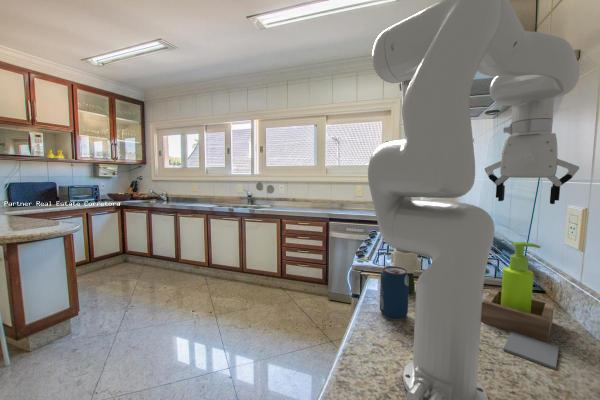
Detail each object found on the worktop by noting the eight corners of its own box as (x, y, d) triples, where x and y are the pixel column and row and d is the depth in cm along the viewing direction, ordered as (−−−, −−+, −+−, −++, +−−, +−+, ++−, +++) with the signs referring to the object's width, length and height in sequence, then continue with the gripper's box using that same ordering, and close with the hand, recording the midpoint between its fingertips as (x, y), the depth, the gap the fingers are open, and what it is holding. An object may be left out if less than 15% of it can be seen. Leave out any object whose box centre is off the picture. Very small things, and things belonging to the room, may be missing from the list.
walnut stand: (548, 343, 60) (549, 320, 60) (480, 321, 69) (482, 302, 68) (552, 322, 69) (554, 302, 68) (492, 305, 78) (493, 288, 77)
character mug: (426, 294, 84) (428, 253, 83) (411, 299, 81) (413, 256, 80) (397, 282, 94) (399, 245, 93) (382, 287, 90) (384, 247, 89)
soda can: (413, 316, 71) (415, 271, 70) (396, 324, 67) (398, 276, 66) (390, 306, 77) (392, 263, 76) (373, 313, 73) (375, 268, 72)
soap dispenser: (540, 329, 65) (547, 246, 64) (507, 326, 67) (513, 244, 65) (525, 317, 71) (531, 241, 69) (495, 314, 72) (500, 239, 71)
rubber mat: (555, 369, 52) (555, 367, 51) (503, 350, 57) (503, 348, 57) (558, 349, 58) (558, 346, 58) (511, 333, 64) (511, 331, 63)
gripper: (483, 132, 69) (479, 200, 70) (583, 122, 56) (575, 206, 58) (490, 135, 74) (486, 199, 75) (583, 127, 62) (576, 203, 63)
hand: (525, 202), depth 66 cm, fingers open, 9 cm apart
